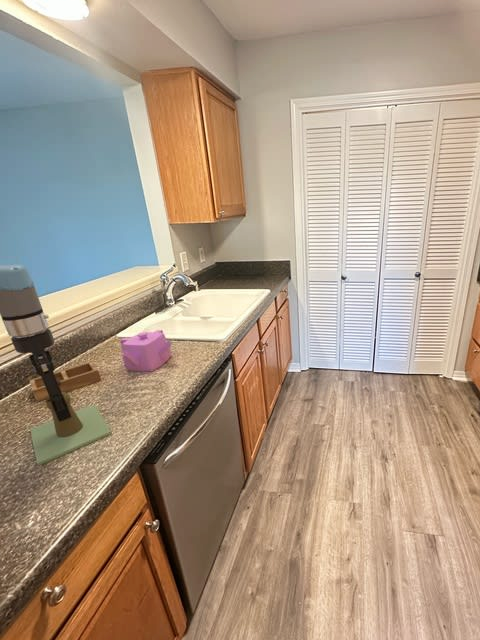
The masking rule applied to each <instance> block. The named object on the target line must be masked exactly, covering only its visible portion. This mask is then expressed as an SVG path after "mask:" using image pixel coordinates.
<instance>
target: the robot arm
mask: <svg viewBox="0 0 480 640" xmlns="http://www.w3.org/2000/svg"><path fill="white" fill-rule="evenodd" d="M0 317H1V320H2V323H3V325H4V327H5V329H6V332H7V334H8V337H9V336H10V337H11V339H10V340H11V344H12V345H13V347H14V349H15V352H16V353H18V354H30V355H28V357H29V360H30V363H31V365H32V366H34V369H35V372H36V374H37V375H38V376H40V377H42V380H43V382H44V385H45V387H46V390H47V392H48V394H49V397H50V398H49V399H47V402H49V401H51V403H52V406H53V408H54V410H55V413H56V415H57V418H58V420H59V422H60V421H63V420H65V419H68V418H71V414H70V412H69V409H68V407H67V404H66V401H65V399H64V396H63V394H62V393H61V389H60V387H59V385H61V382H60V381H59V382H57V380H56V378H55V375H54V373H55V372H54V371H55V370H56V368H55V367H54V364H53V358H52V355H51V353H50V351H49V350H46V349H47V348H51V347H52V346H53V345H54V344H55V343H56V342H55V341H56V340H55V338H54V335H53V333H52V330H51V329H50V328H49V326H50V325H49V323H48V319H49V318H50V316H49V315H48V314H45V313H44V310H43V307H42V304H41V301H40V298H39V295H38V292H37V290H36V287H35V282H34V280H33V279H32V277H31V275H30V273H29V271H28V269H27V267H25V266H24V265H22V264H5V265H4V264H3V265H0Z"/></svg>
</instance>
